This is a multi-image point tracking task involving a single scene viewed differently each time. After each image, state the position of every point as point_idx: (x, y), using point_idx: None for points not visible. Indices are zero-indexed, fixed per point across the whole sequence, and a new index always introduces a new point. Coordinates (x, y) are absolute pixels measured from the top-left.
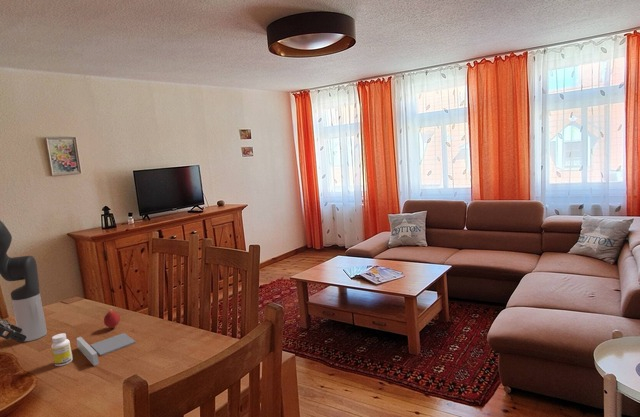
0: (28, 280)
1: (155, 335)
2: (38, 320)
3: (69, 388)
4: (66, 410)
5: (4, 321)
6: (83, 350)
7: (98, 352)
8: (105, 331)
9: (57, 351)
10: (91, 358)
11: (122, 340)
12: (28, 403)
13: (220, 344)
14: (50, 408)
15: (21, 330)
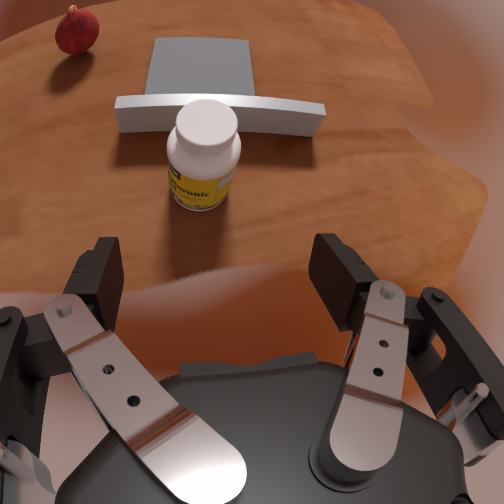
0: None
1: (243, 16)
2: None
3: (394, 217)
4: (465, 245)
5: (137, 363)
6: None
7: None
8: (79, 66)
9: (233, 172)
10: (302, 124)
11: (208, 50)
12: None
13: (376, 17)
14: (447, 269)
15: (117, 244)
